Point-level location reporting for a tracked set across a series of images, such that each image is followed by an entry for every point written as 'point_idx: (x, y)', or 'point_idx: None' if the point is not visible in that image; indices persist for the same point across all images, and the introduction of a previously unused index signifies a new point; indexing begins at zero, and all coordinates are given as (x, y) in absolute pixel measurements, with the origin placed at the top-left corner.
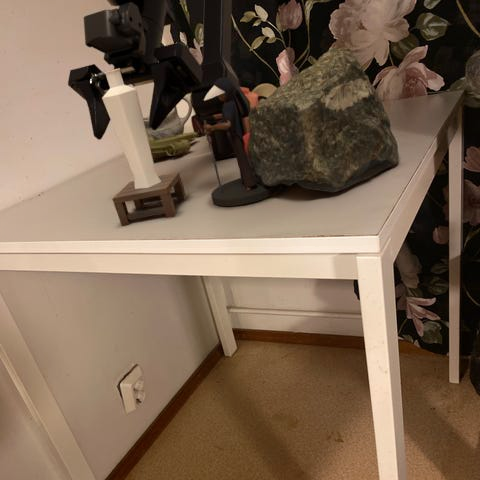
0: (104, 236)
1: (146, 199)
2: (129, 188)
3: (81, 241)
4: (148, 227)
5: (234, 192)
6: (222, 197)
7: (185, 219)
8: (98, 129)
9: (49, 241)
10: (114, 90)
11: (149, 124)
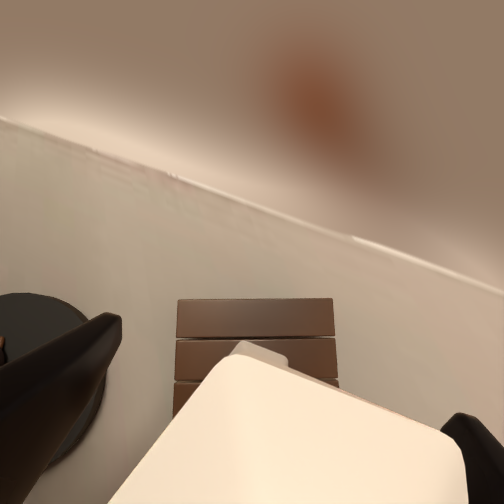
0: (333, 254)
1: None
2: (310, 376)
3: (382, 247)
4: (239, 263)
5: (37, 345)
6: (67, 321)
7: (160, 273)
8: (473, 462)
9: (478, 283)
10: (291, 455)
11: (113, 316)
